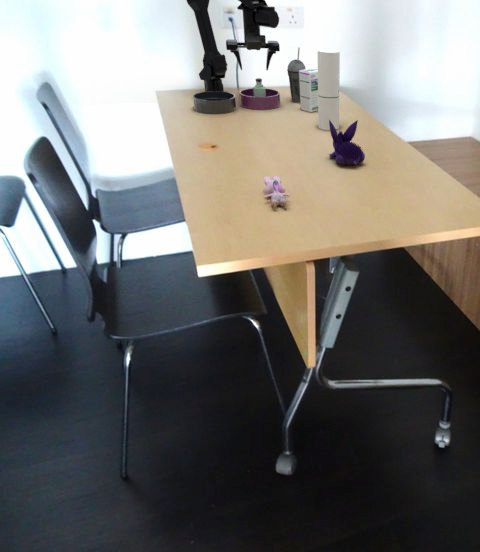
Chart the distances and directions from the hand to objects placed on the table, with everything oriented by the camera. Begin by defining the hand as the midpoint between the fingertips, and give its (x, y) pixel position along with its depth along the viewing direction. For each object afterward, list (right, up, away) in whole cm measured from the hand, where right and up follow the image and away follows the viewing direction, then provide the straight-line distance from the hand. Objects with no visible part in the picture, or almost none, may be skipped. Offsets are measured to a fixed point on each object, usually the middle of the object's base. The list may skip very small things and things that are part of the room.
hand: (254, 70), depth 210 cm
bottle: (+1, -12, +3) cm, 13 cm away
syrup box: (+20, -14, +4) cm, 25 cm away
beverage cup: (+14, -7, +14) cm, 21 cm away
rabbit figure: (+23, -57, -69) cm, 93 cm away
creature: (+38, -42, -42) cm, 71 cm away
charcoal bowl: (-13, -16, -5) cm, 21 cm away
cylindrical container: (+30, -25, -14) cm, 41 cm away
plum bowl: (+1, -12, +4) cm, 13 cm away
